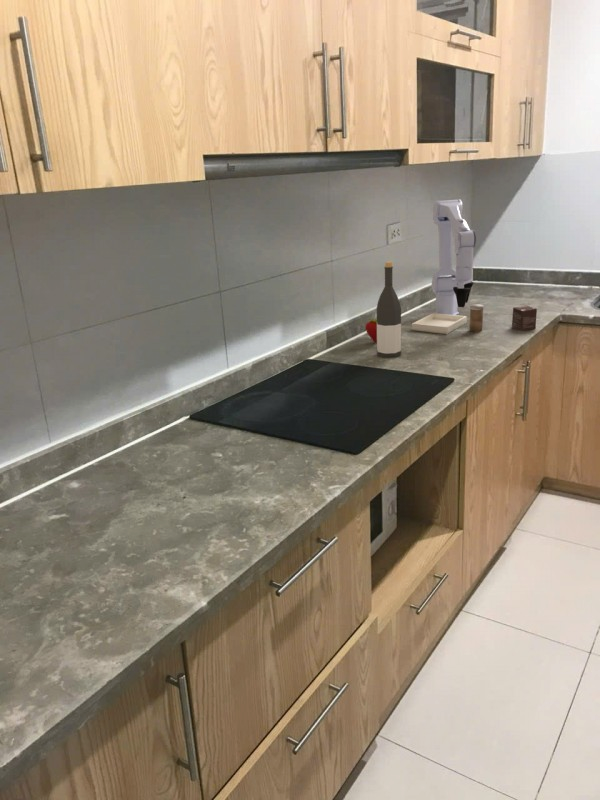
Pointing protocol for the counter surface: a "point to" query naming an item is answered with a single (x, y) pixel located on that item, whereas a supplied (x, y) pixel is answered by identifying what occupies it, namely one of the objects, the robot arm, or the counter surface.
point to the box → (524, 318)
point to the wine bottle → (388, 319)
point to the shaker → (476, 317)
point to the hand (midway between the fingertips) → (462, 304)
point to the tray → (439, 323)
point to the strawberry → (372, 329)
